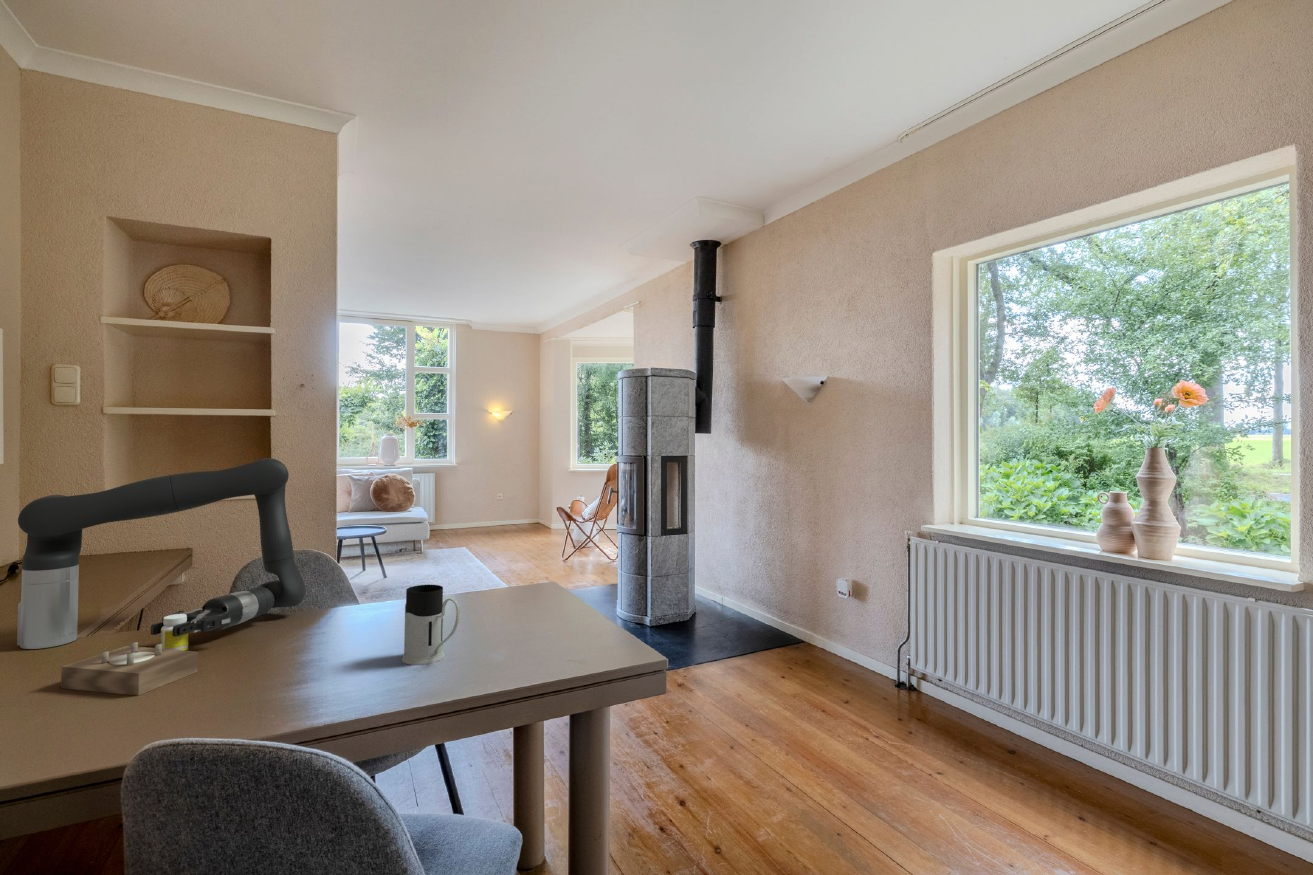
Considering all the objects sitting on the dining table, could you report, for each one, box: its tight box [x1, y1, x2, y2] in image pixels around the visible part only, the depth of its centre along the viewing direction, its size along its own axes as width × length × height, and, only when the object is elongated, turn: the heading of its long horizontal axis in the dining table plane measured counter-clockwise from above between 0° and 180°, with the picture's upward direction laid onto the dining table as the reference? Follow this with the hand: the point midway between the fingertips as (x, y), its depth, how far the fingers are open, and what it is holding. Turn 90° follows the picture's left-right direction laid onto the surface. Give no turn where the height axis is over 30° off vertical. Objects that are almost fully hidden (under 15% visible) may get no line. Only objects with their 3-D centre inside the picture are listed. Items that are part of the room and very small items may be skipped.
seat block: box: [60, 641, 199, 697], centre depth 120 cm, size 17×12×6 cm
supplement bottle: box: [160, 614, 189, 651], centre depth 134 cm, size 5×5×8 cm
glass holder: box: [401, 584, 461, 666], centre depth 134 cm, size 9×14×15 cm, turn 64°
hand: (163, 630), depth 131 cm, fingers closed on supplement bottle, 4 cm apart
